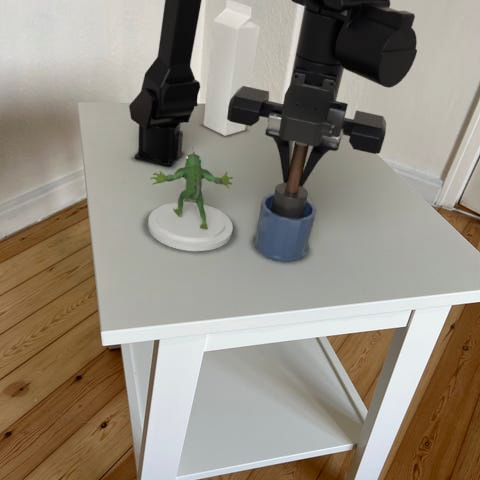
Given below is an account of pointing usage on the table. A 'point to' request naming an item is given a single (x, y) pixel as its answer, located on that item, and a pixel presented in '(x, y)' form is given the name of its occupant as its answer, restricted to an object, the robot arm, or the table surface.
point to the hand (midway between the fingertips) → (293, 183)
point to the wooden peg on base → (292, 187)
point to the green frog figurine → (190, 212)
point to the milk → (229, 64)
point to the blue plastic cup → (283, 232)
